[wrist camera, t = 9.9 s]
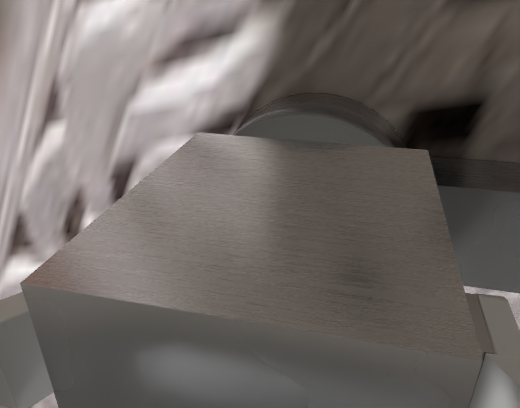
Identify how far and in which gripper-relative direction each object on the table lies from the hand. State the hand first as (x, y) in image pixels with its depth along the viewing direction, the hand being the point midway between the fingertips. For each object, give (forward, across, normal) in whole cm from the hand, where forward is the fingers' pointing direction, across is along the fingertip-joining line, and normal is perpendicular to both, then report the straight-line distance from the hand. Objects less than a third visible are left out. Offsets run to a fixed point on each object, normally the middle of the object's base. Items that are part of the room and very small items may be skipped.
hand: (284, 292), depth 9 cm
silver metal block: (+2, 0, 0) cm, 2 cm away
